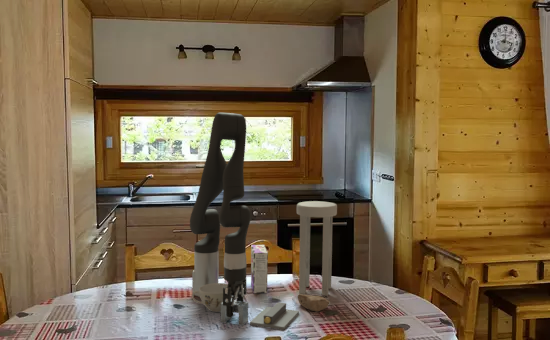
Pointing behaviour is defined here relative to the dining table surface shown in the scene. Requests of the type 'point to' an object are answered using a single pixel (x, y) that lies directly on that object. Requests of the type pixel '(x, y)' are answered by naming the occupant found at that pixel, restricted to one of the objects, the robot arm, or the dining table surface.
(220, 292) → the teacup
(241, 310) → the grey arch block
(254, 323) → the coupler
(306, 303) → the stone
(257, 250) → the candy box
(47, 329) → the dining table surface
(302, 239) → the stool
